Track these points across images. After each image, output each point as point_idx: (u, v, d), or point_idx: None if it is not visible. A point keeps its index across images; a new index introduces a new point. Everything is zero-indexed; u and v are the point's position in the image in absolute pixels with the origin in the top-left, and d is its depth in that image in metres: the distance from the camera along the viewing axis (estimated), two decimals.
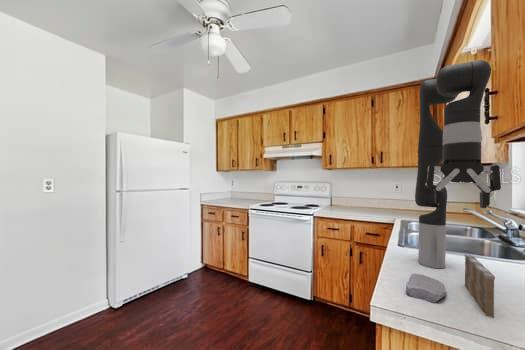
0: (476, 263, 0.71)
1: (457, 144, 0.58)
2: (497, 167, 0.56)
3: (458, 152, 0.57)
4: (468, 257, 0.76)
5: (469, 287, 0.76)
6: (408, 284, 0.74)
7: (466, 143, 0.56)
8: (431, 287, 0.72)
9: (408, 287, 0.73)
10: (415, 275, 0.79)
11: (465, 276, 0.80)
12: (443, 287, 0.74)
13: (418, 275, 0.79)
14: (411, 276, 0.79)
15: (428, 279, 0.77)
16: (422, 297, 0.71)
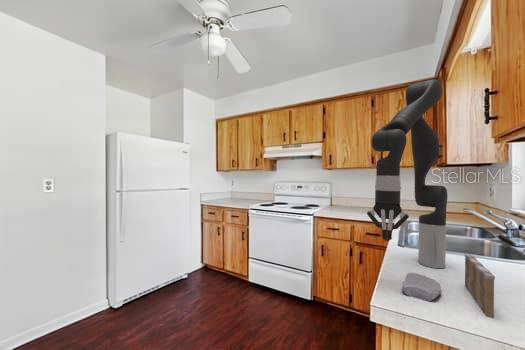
0: (476, 263, 0.71)
1: (382, 192, 0.78)
2: (407, 217, 0.76)
3: (383, 198, 0.77)
4: (468, 257, 0.76)
5: (469, 287, 0.76)
6: (404, 283, 0.74)
7: (388, 192, 0.77)
8: (427, 285, 0.73)
9: (404, 286, 0.74)
10: (411, 274, 0.80)
11: (465, 276, 0.80)
12: (438, 286, 0.75)
13: (414, 274, 0.79)
14: (407, 275, 0.79)
15: (424, 278, 0.77)
16: (418, 296, 0.71)
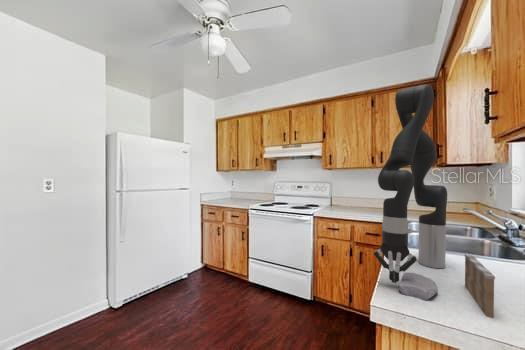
0: (476, 263, 0.71)
1: (389, 234, 0.77)
2: (415, 260, 0.75)
3: (390, 240, 0.76)
4: (468, 257, 0.76)
5: (469, 287, 0.76)
6: (401, 282, 0.75)
7: (395, 234, 0.75)
8: (423, 285, 0.74)
9: (401, 285, 0.74)
10: (408, 273, 0.80)
11: (465, 276, 0.80)
12: (435, 285, 0.75)
13: (411, 273, 0.80)
14: (404, 274, 0.80)
15: (420, 277, 0.78)
16: (414, 295, 0.72)
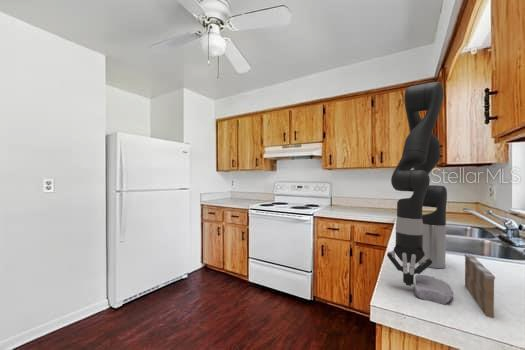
0: (476, 263, 0.71)
1: (404, 235, 0.75)
2: (430, 262, 0.73)
3: (404, 241, 0.74)
4: (468, 257, 0.76)
5: (469, 287, 0.76)
6: (417, 286, 0.72)
7: (410, 236, 0.74)
8: (439, 288, 0.72)
9: (417, 289, 0.72)
10: (420, 276, 0.78)
11: (465, 276, 0.80)
12: (449, 287, 0.74)
13: (423, 276, 0.78)
14: (417, 277, 0.78)
15: (433, 280, 0.76)
16: (432, 299, 0.70)
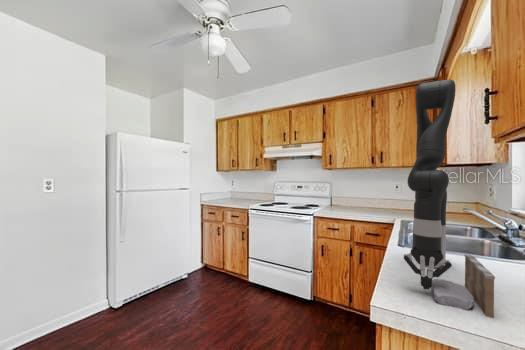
0: (476, 263, 0.71)
1: (422, 237, 0.72)
2: (450, 265, 0.71)
3: (423, 244, 0.72)
4: (468, 257, 0.76)
5: (469, 287, 0.76)
6: (436, 292, 0.70)
7: (429, 238, 0.71)
8: (459, 293, 0.69)
9: (437, 295, 0.69)
10: (437, 280, 0.75)
11: (465, 276, 0.80)
12: (468, 292, 0.71)
13: (440, 280, 0.75)
14: (434, 282, 0.75)
15: (451, 284, 0.74)
16: (453, 305, 0.67)
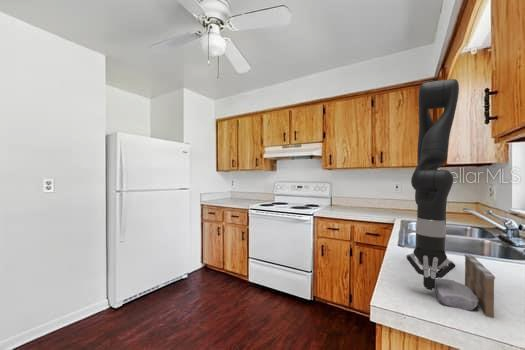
0: (476, 263, 0.71)
1: (425, 237, 0.72)
2: (453, 266, 0.70)
3: (426, 244, 0.71)
4: (468, 257, 0.76)
5: (469, 287, 0.76)
6: (441, 292, 0.69)
7: (432, 238, 0.71)
8: (463, 292, 0.68)
9: (442, 295, 0.68)
10: (440, 280, 0.75)
11: (465, 276, 0.80)
12: (471, 291, 0.71)
13: (443, 280, 0.75)
14: (437, 281, 0.74)
15: (454, 283, 0.73)
16: (458, 305, 0.66)
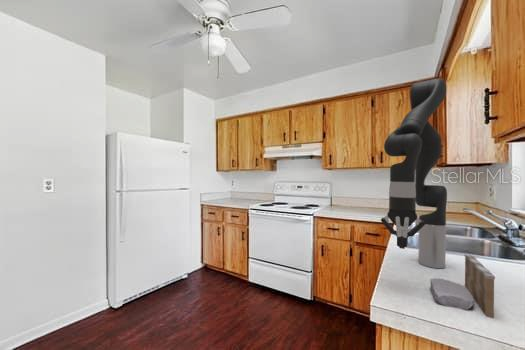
0: (476, 263, 0.71)
1: (397, 198, 0.75)
2: (423, 224, 0.74)
3: (397, 205, 0.75)
4: (468, 257, 0.76)
5: (469, 287, 0.76)
6: (437, 292, 0.69)
7: (403, 198, 0.74)
8: (459, 292, 0.69)
9: (438, 295, 0.68)
10: (436, 280, 0.75)
11: (465, 276, 0.80)
12: (467, 291, 0.72)
13: (439, 280, 0.75)
14: (433, 281, 0.75)
15: (450, 283, 0.74)
16: (454, 305, 0.67)
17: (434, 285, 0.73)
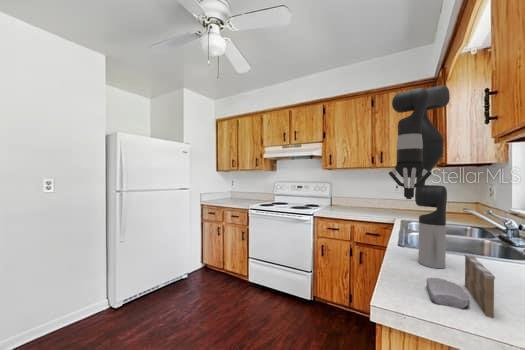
0: (476, 263, 0.71)
1: (405, 150, 0.79)
2: (429, 173, 0.77)
3: (405, 156, 0.79)
4: (468, 257, 0.76)
5: (469, 287, 0.76)
6: (433, 291, 0.70)
7: (411, 149, 0.78)
8: (454, 291, 0.69)
9: (434, 294, 0.69)
10: (432, 279, 0.76)
11: (465, 276, 0.80)
12: (462, 290, 0.72)
13: (435, 279, 0.76)
14: (429, 281, 0.75)
15: (446, 283, 0.74)
16: (449, 304, 0.67)
17: (430, 284, 0.74)
